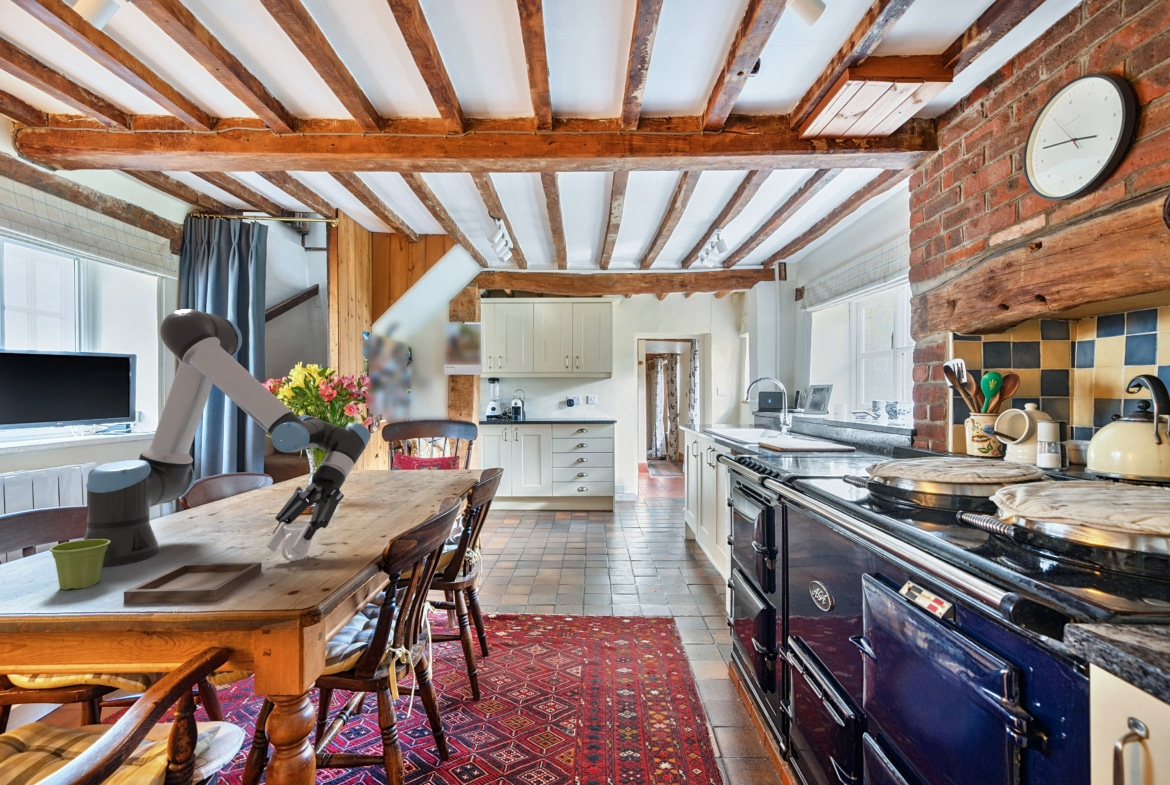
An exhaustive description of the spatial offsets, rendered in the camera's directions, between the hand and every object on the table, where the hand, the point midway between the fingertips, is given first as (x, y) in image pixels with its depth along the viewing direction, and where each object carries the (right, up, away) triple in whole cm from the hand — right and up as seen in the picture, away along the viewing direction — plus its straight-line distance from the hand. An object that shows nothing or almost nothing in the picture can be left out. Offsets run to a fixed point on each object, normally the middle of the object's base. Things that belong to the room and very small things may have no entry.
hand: (282, 549), depth 127 cm
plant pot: (-35, -3, -14) cm, 38 cm away
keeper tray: (-9, -3, -15) cm, 18 cm away
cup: (+1, -4, +3) cm, 5 cm away
